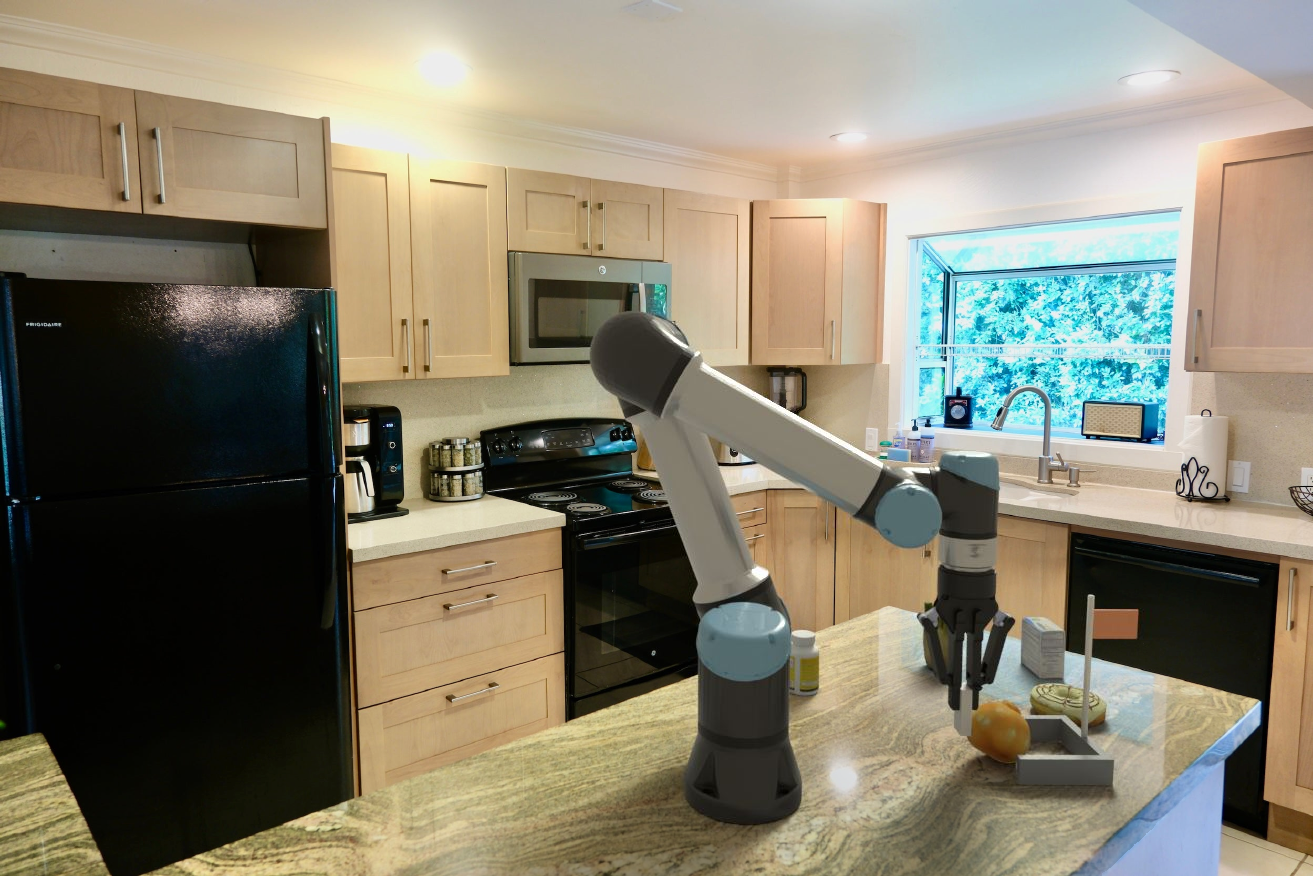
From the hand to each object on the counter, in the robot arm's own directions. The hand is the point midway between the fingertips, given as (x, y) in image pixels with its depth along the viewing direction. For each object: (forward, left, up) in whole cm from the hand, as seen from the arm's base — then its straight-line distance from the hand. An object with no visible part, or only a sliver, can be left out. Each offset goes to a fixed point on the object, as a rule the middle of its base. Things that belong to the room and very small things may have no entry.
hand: (962, 731), depth 115 cm
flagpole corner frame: (+14, 0, -4) cm, 15 cm away
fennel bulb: (+8, +34, -4) cm, 35 cm away
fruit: (+5, 0, -4) cm, 7 cm away
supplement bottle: (-18, +24, -4) cm, 31 cm away
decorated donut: (+22, +15, -5) cm, 27 cm away
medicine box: (+26, +33, -4) cm, 42 cm away
